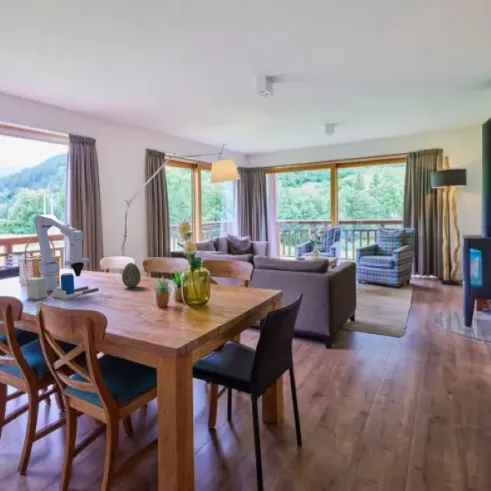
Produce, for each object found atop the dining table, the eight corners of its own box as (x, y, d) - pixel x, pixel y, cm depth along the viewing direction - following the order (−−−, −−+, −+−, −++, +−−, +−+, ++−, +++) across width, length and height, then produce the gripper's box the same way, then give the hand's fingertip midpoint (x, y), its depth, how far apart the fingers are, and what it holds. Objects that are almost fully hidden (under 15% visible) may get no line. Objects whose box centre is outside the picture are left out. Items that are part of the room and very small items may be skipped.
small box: (47, 296, 199) (46, 277, 198) (38, 299, 194) (37, 279, 192) (36, 295, 201) (35, 277, 200) (27, 298, 196) (25, 278, 195)
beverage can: (64, 294, 204) (62, 273, 203) (76, 293, 205) (75, 272, 204) (59, 297, 198) (58, 275, 197) (72, 296, 199) (71, 274, 198)
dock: (53, 296, 199) (52, 288, 199) (87, 288, 219) (86, 281, 218) (64, 298, 195) (64, 290, 194) (98, 290, 214) (98, 282, 214)
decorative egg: (133, 284, 228) (132, 261, 227) (144, 286, 222) (143, 262, 221) (118, 288, 219) (117, 263, 218) (130, 290, 213) (129, 264, 212)
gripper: (70, 254, 197) (71, 279, 199) (92, 251, 210) (93, 274, 212) (61, 253, 201) (62, 277, 202) (84, 250, 213) (85, 273, 215)
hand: (78, 276), depth 207 cm, fingers closed
